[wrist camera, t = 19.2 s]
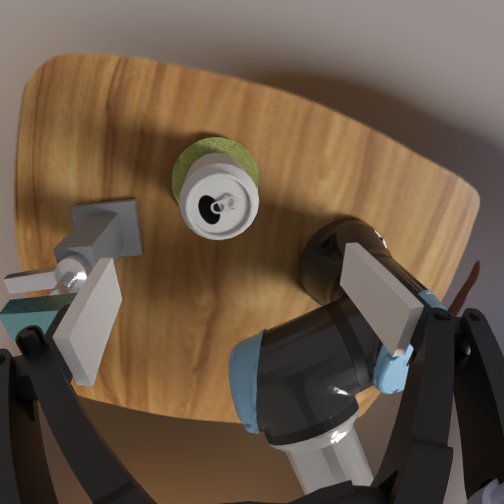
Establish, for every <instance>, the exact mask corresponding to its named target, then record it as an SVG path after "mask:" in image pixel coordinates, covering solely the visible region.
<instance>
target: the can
mask: <svg viewBox="0 0 504 504" xmlns="http://www.w3.org/2000/svg"><path fill="white" fill-rule="evenodd" d="M258 205H259V197H258V190H257V188H256V186H255V184H254V182H253V180H252V178H251V177H250V176H249V174H248V173H247V172H246V171H245V169H244V168H243V167H242V166H241V164H240V163H239V162H238V161H237V160H235V159H234V158H233V157H231V156H229V155H227V154H223V153H211V154H206V155H204V156H202V157H200V158H199V159H197V160H196V161H195V162H194V163H193V164H192V165H191V167H190V169H189V171H188V173H187V176H186V178H185V181H184V184H183V187H182V190H181V192H180V201H179V207H180V211H181V215H182V218H183V219H184V221H185V222H186V224H187V226H188V227H189V228H190V229H191V230H193V231H194V232H195V233H196V234H197V235H200V236H202V237H205V238H207V239H214V240H223V239H228V238H233V237H235V236H236V235H238V234H240V233H242V232H244V231H245V230H246V229H247V228H248V227H249V226H250V225H251V224H252V222H253V220H254V218H255V216H256V214H257V211H258Z"/></svg>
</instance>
